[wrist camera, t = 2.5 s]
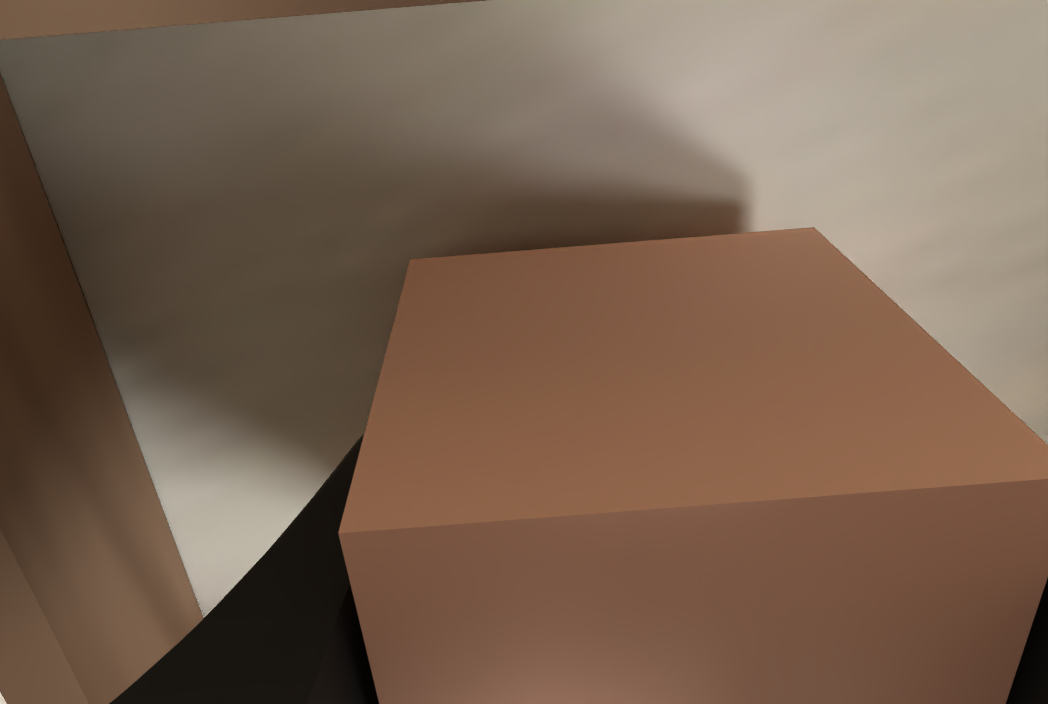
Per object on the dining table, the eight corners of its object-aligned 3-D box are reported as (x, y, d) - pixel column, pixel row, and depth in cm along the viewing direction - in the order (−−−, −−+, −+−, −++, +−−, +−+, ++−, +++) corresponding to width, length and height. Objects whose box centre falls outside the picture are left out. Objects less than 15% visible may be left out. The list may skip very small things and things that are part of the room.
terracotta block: (814, 227, 10) (1081, 477, 5) (780, 537, 12) (943, 887, 8) (409, 259, 10) (338, 532, 5) (455, 562, 12) (431, 926, 8)
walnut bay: (1109, -176, 8) (1394, -225, 6) (909, 663, 14) (1001, 826, 12) (-149, -72, 8) (-445, -74, 6) (185, 719, 15) (117, 893, 12)
